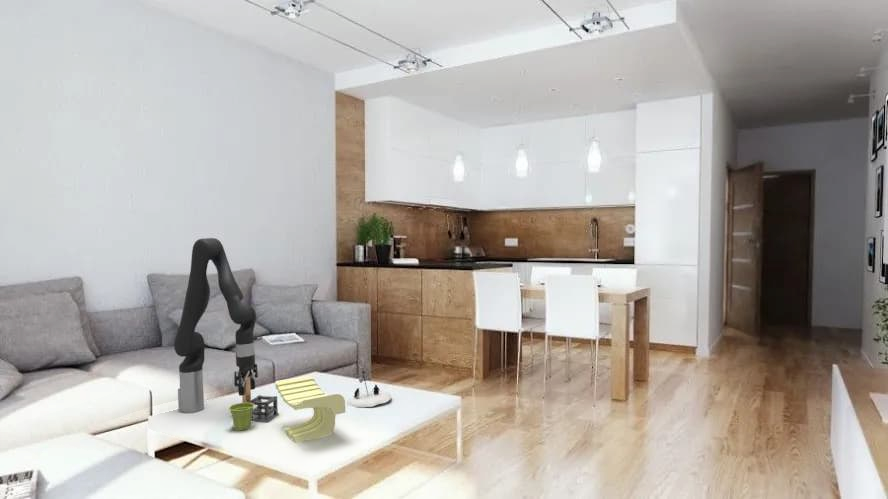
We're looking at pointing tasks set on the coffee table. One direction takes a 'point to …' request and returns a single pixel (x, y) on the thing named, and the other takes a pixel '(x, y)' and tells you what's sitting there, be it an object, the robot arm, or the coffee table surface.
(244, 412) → the plant pot
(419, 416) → the coffee table surface
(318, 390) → the slatted curved stool
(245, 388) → the tube
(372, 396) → the figurine
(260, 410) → the metal frame cube
